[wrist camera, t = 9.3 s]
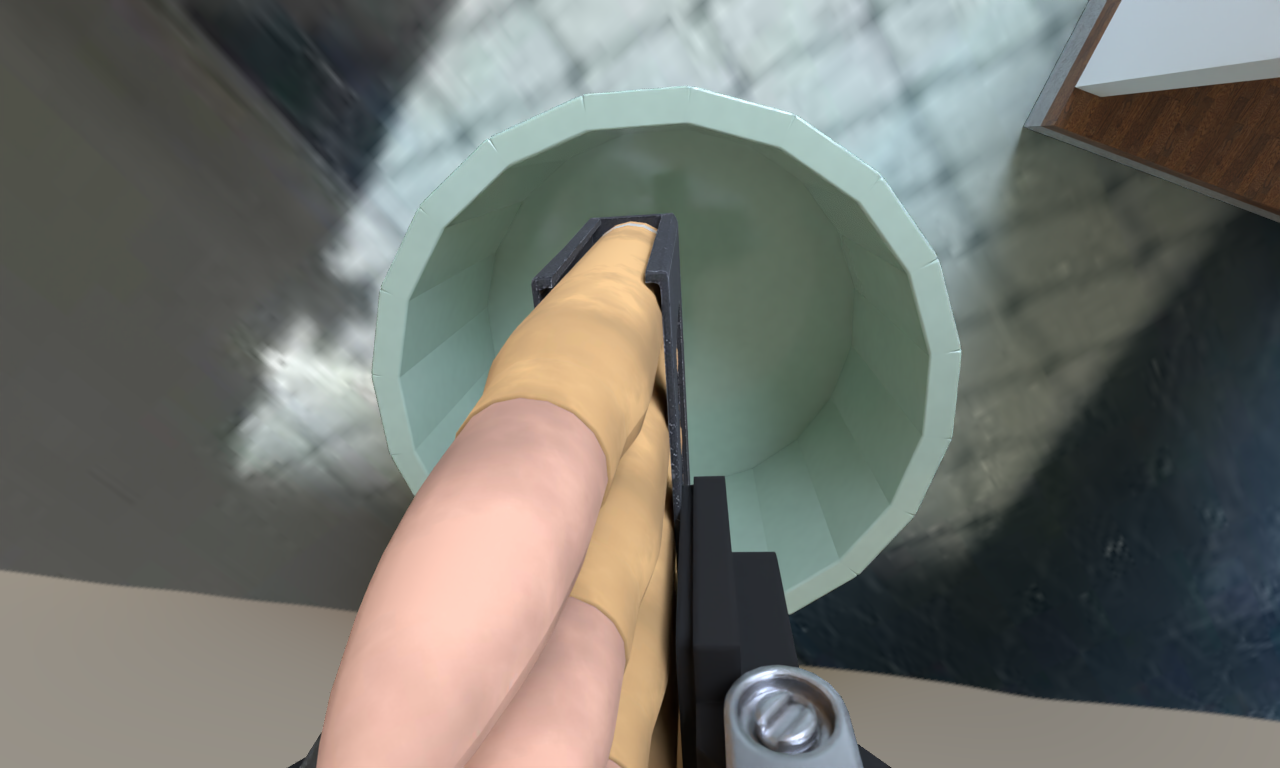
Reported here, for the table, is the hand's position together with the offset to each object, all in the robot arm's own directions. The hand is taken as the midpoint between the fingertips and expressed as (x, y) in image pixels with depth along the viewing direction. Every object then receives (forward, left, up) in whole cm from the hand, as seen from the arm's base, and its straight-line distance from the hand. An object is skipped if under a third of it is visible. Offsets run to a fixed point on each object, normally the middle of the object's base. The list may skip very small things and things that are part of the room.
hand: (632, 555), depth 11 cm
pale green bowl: (0, 0, -16) cm, 16 cm away
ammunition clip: (0, 0, -4) cm, 4 cm away
